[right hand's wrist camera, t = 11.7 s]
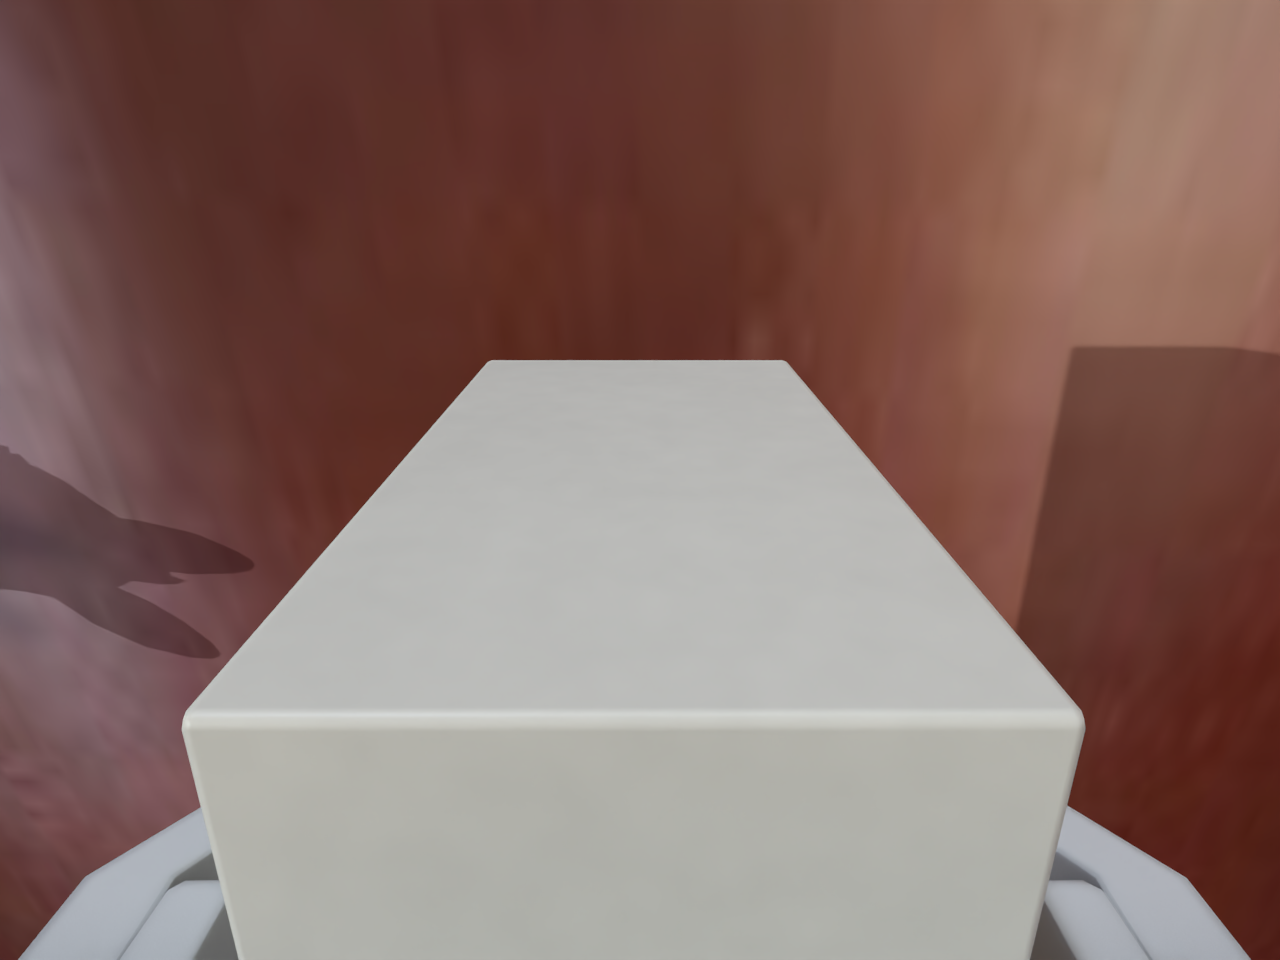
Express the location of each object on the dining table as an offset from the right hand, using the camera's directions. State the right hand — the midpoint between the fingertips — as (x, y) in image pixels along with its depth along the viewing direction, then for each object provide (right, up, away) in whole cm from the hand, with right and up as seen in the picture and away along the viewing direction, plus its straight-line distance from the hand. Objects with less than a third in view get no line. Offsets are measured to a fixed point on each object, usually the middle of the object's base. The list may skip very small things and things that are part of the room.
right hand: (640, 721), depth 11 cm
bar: (0, -8, +7) cm, 10 cm away
